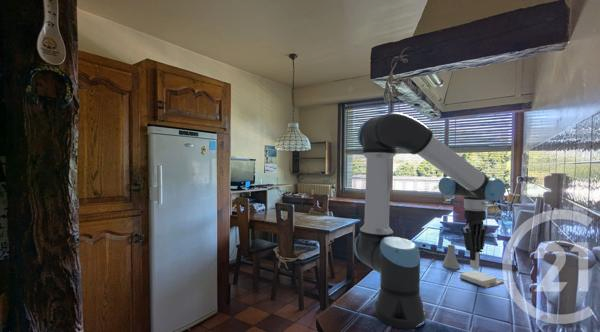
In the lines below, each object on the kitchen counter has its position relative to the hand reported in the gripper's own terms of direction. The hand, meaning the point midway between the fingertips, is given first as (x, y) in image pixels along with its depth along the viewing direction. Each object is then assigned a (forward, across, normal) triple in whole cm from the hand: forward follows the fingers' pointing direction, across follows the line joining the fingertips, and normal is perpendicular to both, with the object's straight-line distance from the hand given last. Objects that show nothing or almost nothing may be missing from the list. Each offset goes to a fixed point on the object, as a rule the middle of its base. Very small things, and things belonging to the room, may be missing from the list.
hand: (474, 267), depth 117 cm
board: (+6, +4, 0) cm, 7 cm away
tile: (+4, -2, 0) cm, 5 cm away
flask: (+6, +7, +16) cm, 19 cm away
